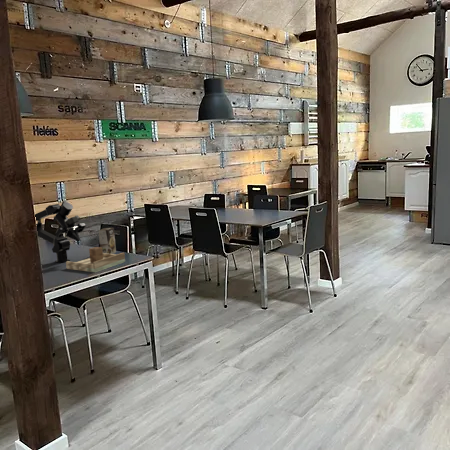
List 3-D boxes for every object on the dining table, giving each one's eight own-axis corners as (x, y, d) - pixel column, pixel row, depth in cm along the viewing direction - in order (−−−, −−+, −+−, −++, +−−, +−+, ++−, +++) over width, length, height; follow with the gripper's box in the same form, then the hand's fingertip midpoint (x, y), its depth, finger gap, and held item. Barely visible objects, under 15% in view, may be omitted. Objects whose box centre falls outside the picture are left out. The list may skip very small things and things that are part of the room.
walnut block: (90, 262, 256) (89, 248, 254) (97, 260, 260) (95, 246, 259) (96, 263, 253) (95, 249, 252) (103, 261, 257) (102, 247, 256)
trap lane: (66, 268, 253) (65, 259, 252) (97, 258, 273) (96, 250, 272) (95, 272, 242) (94, 262, 241) (125, 261, 261) (124, 252, 260)
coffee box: (110, 255, 279) (107, 230, 277) (100, 255, 281) (97, 230, 278) (116, 252, 288) (114, 227, 285) (107, 252, 290) (104, 227, 287)
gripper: (56, 214, 253) (72, 234, 249) (82, 209, 269) (97, 228, 265) (48, 227, 258) (64, 247, 255) (74, 222, 274) (89, 240, 270)
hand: (79, 240), depth 261 cm, fingers closed
